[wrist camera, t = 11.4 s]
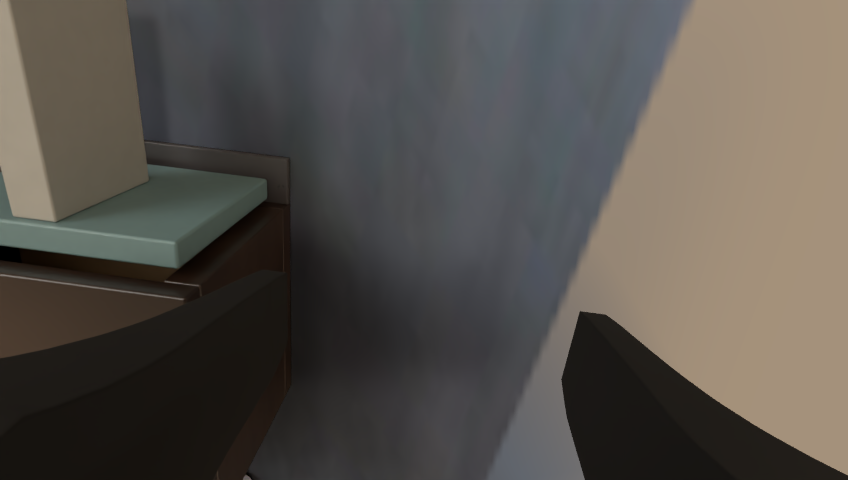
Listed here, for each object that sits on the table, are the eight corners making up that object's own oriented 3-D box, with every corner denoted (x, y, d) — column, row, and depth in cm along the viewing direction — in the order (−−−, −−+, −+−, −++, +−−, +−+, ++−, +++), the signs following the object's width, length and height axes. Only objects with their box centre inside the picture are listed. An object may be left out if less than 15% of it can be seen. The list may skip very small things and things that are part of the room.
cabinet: (291, 384, 22) (211, 542, 15) (-37, 338, 23) (-260, 470, 16) (289, 157, 18) (178, 231, 11) (-114, 107, 19) (-462, 148, 12)
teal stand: (268, 198, 18) (178, 270, 12) (68, 173, 18) (-108, 232, 13) (263, 5, 15) (147, -16, 10) (30, -22, 16) (-212, -55, 10)
